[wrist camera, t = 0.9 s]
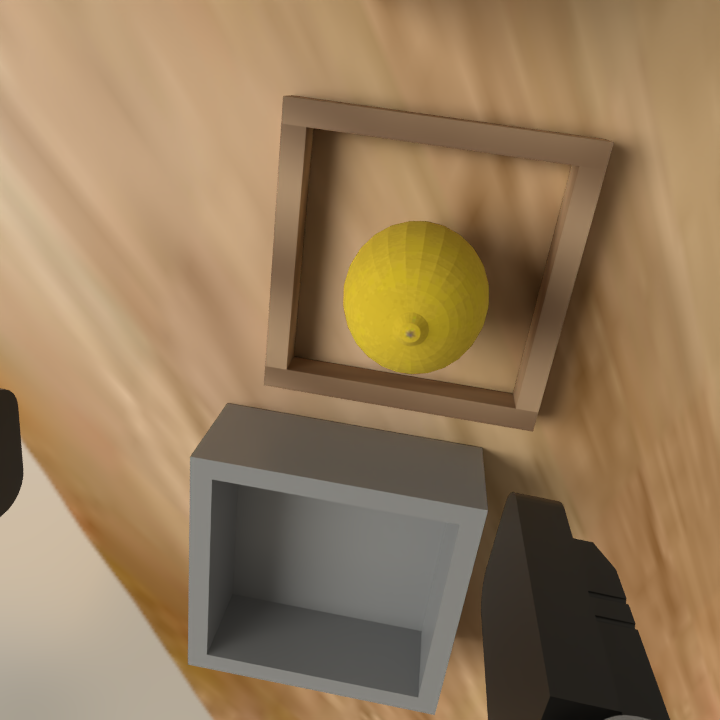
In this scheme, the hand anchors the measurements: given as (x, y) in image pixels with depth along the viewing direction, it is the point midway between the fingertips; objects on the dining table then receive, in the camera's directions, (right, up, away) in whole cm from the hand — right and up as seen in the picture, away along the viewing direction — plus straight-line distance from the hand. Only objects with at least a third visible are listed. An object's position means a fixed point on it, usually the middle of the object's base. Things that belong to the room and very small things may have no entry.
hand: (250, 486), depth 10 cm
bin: (+1, -7, +24) cm, 25 cm away
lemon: (+4, +6, +18) cm, 19 cm away
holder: (+4, +6, +18) cm, 19 cm away
